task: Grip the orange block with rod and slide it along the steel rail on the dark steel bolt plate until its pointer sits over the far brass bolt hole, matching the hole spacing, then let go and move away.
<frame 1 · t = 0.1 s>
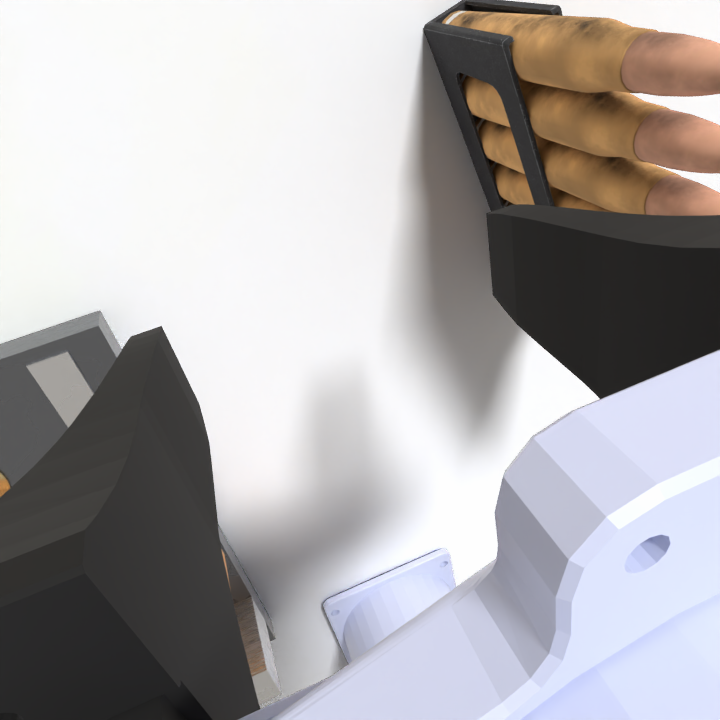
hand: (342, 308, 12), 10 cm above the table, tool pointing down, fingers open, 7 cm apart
ammunition clip: (490, 150, 23), on the table
bolt plate: (108, 538, 26), on the table
orange block with rod: (118, 608, 23), point 4 cm above the table, slide at 0.0 cm
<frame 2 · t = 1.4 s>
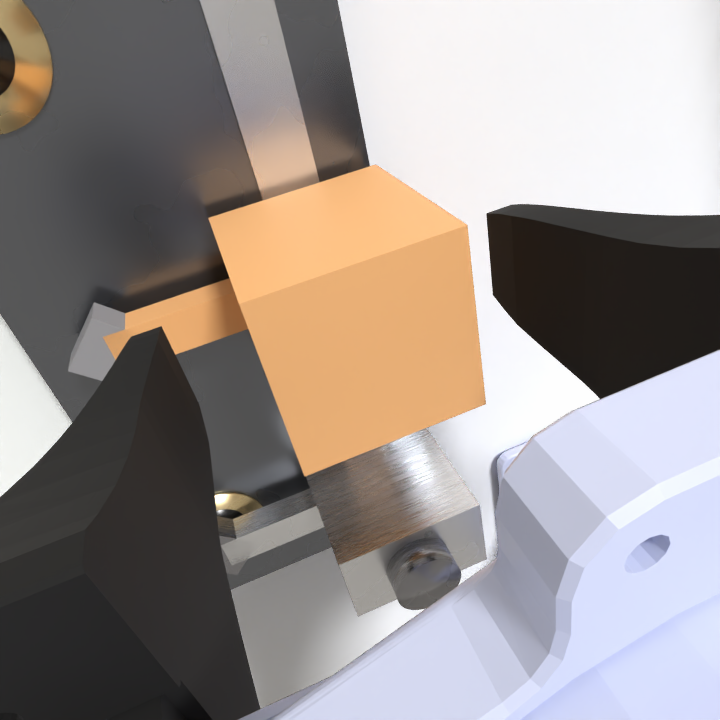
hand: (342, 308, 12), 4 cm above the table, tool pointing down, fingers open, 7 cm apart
bolt plate: (209, 275, 15), on the table
orange block with rod: (253, 340, 12), point 4 cm above the table, slide at 0.0 cm
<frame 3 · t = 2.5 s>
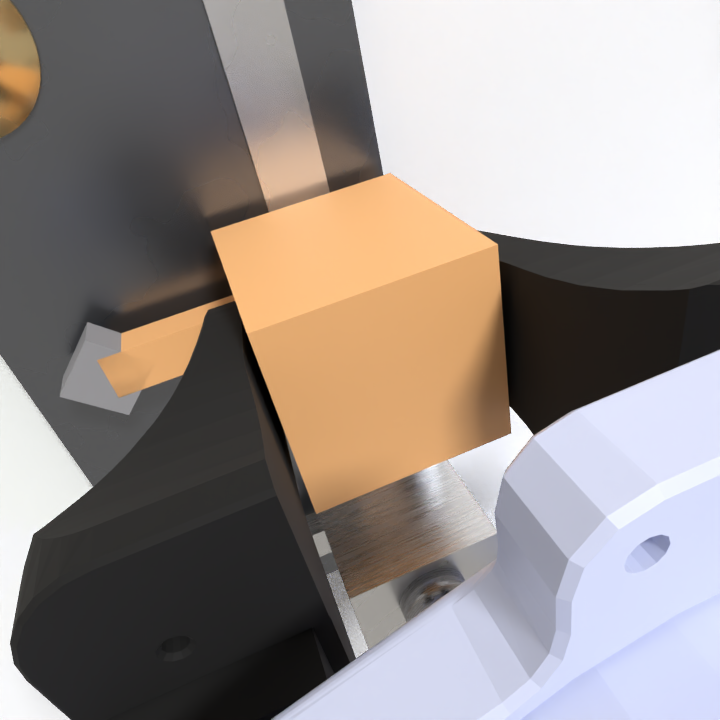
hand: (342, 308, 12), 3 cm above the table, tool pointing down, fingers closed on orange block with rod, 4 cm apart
bolt plate: (211, 290, 14), on the table
orange block with rod: (260, 364, 11), point 4 cm above the table, slide at 0.0 cm, touching gripper
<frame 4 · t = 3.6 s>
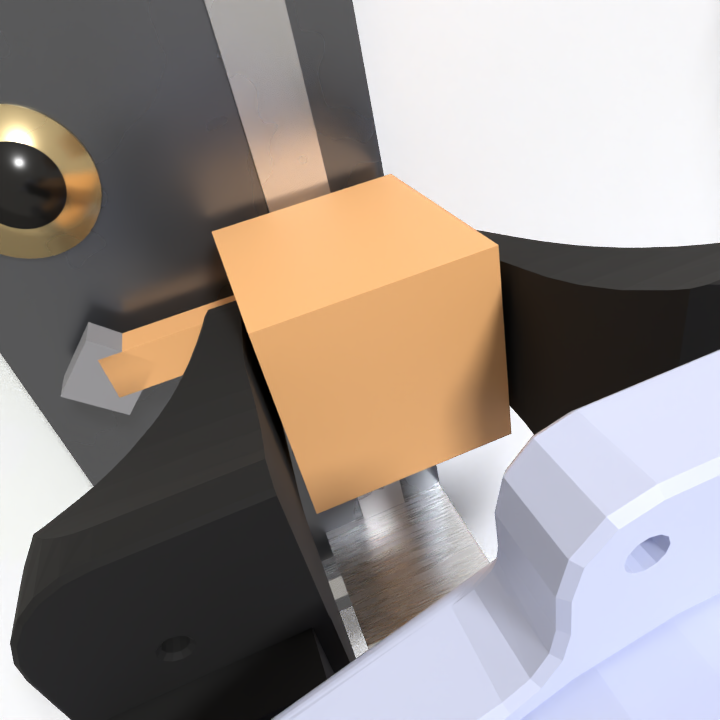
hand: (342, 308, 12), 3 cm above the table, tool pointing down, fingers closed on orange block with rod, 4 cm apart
bolt plate: (241, 361, 16), on the table
orange block with rod: (261, 364, 11), point 4 cm above the table, slide at 2.2 cm, touching gripper
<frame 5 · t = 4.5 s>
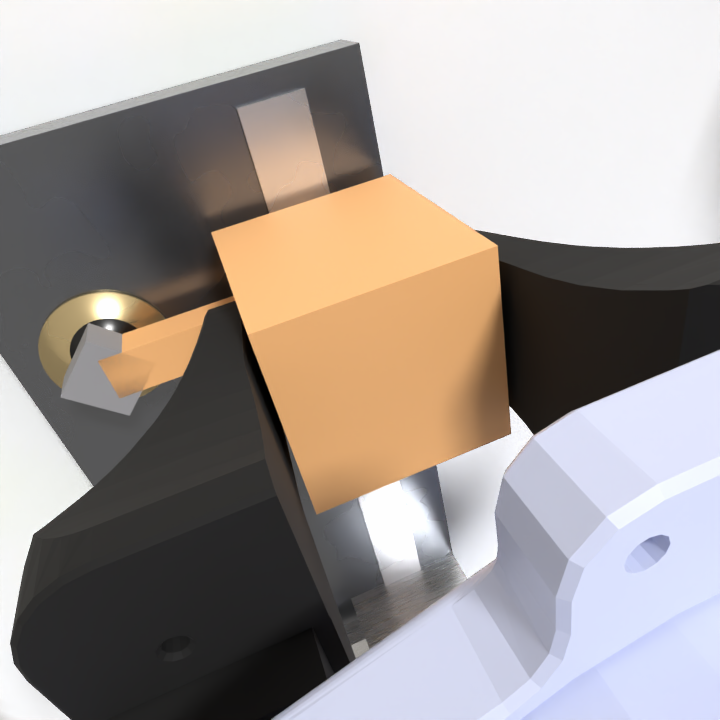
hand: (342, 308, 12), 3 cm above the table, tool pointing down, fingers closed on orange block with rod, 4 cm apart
bolt plate: (280, 458, 18), on the table
orange block with rod: (261, 365, 11), point 4 cm above the table, slide at 6.0 cm, touching gripper
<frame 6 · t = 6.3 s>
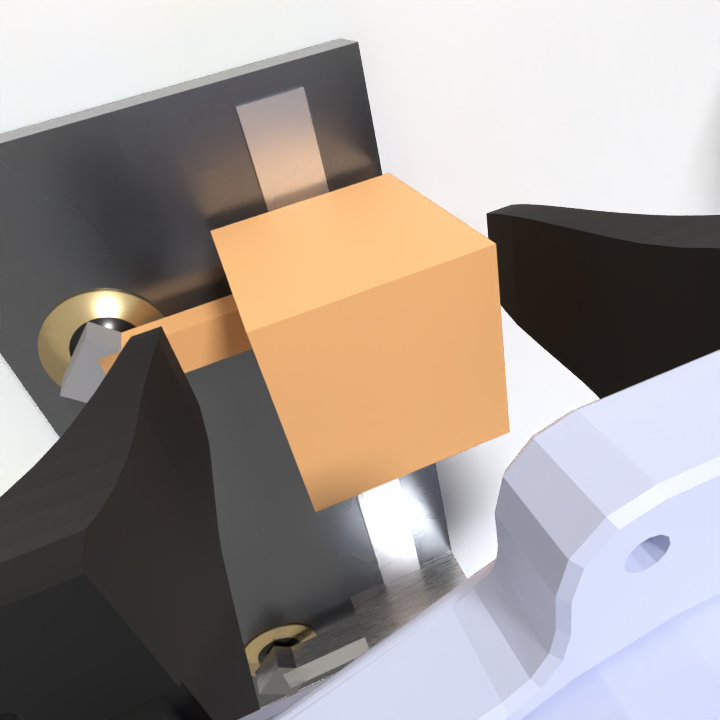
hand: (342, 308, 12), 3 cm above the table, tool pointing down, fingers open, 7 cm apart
bolt plate: (279, 457, 18), on the table
orange block with rod: (260, 363, 11), point 4 cm above the table, slide at 6.0 cm
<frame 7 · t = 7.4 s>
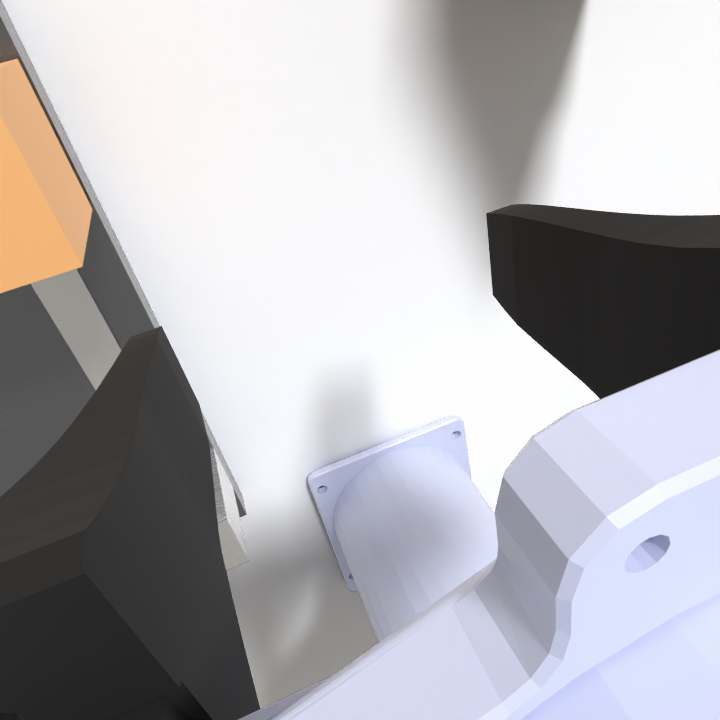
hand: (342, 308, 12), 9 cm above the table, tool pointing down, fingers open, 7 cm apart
bolt plate: (18, 344, 20), on the table
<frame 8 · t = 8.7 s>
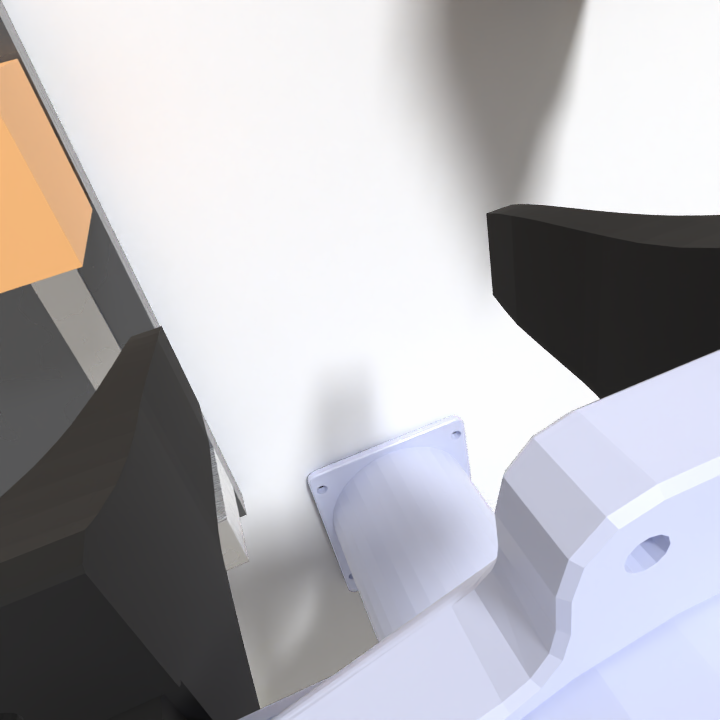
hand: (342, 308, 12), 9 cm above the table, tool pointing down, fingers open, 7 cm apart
bolt plate: (18, 344, 20), on the table
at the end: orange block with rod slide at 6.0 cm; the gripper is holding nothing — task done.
